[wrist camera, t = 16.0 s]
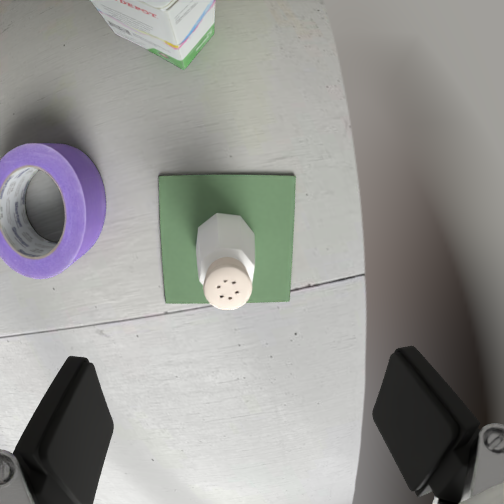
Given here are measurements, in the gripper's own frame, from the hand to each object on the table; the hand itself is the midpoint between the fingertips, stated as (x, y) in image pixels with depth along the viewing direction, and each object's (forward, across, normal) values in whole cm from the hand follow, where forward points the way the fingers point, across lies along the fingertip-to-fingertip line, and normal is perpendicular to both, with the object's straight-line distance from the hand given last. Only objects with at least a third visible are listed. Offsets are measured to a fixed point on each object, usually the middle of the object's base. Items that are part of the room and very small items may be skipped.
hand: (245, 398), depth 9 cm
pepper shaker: (+20, 0, +1) cm, 21 cm away
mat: (+21, 0, +1) cm, 21 cm away
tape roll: (+21, +17, -3) cm, 27 cm away
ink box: (+21, +6, -19) cm, 29 cm away
